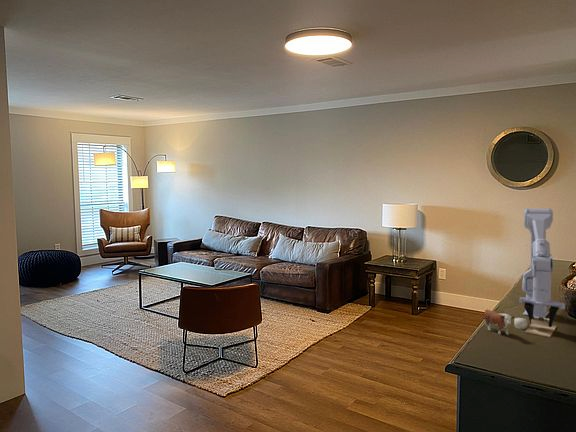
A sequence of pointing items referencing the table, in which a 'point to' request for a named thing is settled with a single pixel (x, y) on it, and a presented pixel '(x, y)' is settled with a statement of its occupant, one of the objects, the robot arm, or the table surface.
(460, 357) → the table surface
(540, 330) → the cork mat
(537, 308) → the robot arm
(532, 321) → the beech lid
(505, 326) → the bull figurine
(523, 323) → the white round lump
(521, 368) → the table surface
